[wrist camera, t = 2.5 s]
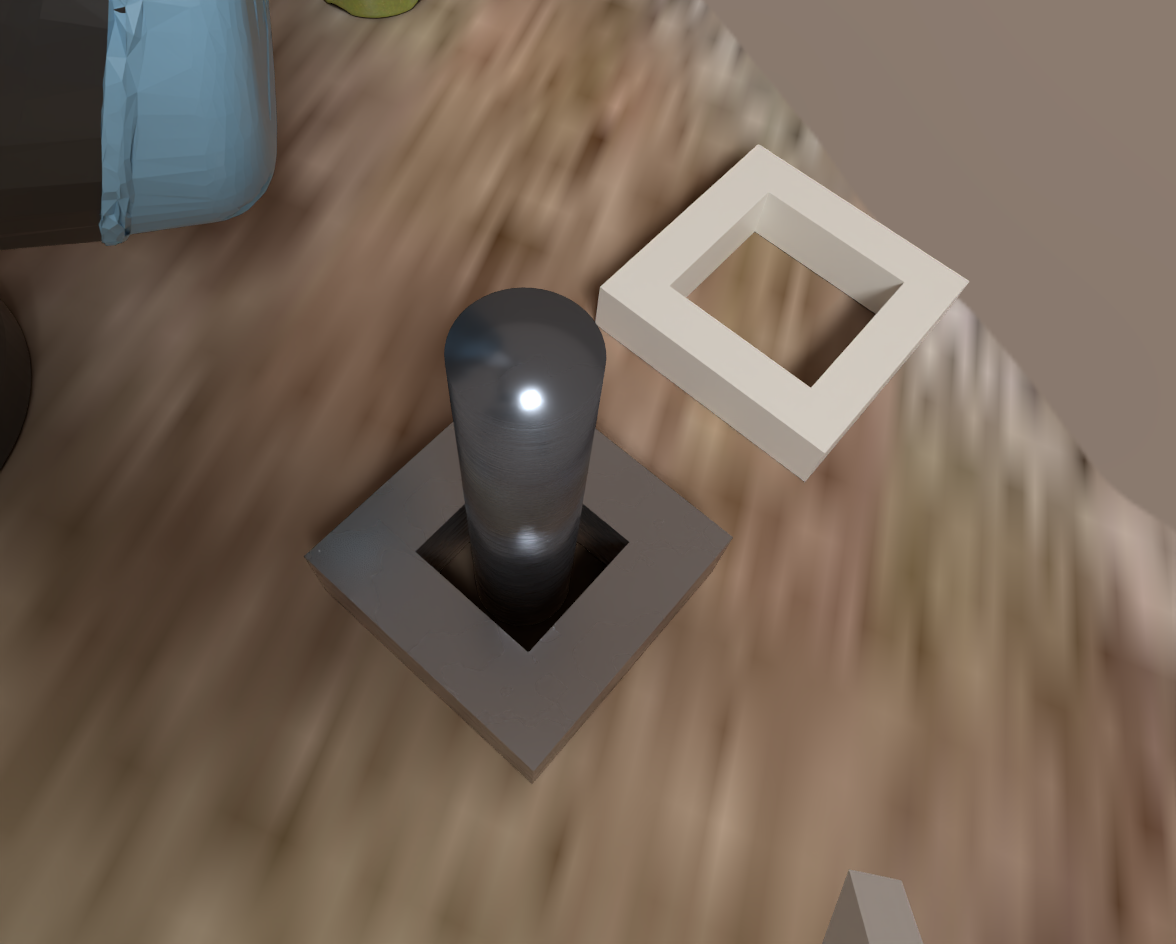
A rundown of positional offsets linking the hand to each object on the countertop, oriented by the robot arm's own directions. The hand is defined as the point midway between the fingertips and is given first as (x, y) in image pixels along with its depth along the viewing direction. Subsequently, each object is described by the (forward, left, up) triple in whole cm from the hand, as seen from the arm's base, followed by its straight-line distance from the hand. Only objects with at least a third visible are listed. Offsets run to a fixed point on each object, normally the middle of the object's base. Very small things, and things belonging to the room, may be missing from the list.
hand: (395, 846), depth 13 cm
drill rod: (-5, +8, -16) cm, 19 cm away
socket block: (-5, +8, -16) cm, 19 cm away
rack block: (-5, +24, -16) cm, 30 cm away
